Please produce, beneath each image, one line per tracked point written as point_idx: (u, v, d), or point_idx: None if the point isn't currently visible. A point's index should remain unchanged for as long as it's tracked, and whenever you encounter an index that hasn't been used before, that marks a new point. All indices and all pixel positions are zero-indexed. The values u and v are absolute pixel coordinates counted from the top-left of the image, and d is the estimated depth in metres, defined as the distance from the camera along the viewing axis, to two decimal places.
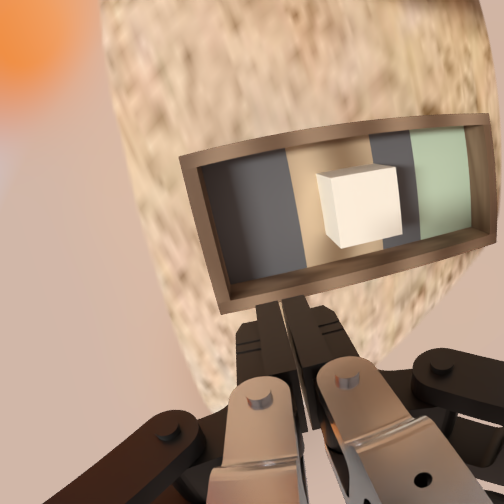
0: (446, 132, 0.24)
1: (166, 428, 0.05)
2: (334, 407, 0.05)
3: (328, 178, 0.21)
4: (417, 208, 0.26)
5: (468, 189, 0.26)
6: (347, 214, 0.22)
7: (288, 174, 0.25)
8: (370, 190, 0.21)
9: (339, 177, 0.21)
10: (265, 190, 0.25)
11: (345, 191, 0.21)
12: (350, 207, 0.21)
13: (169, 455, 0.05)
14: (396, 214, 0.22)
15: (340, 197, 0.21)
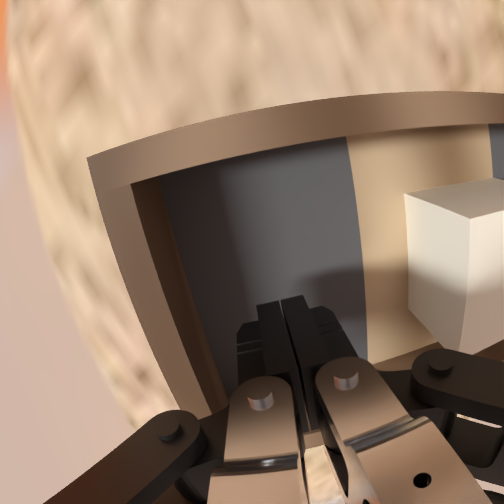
0: None
1: (167, 428, 0.05)
2: (333, 408, 0.05)
3: (459, 216, 0.08)
4: None
5: None
6: (484, 296, 0.08)
7: (351, 194, 0.11)
8: None
9: (485, 217, 0.07)
10: (301, 228, 0.11)
11: (490, 248, 0.08)
12: (491, 281, 0.08)
13: (171, 455, 0.05)
14: None
15: (480, 262, 0.08)
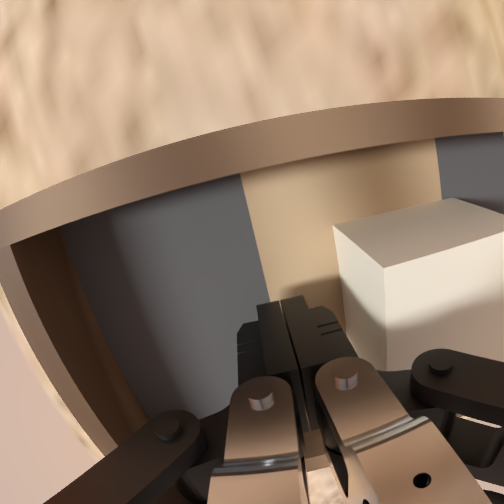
0: None
1: (167, 428, 0.05)
2: (332, 408, 0.05)
3: (374, 262, 0.07)
4: None
5: None
6: (414, 351, 0.07)
7: (249, 233, 0.10)
8: (475, 287, 0.07)
9: (408, 263, 0.07)
10: (196, 271, 0.11)
11: (418, 299, 0.07)
12: (423, 335, 0.07)
13: (171, 455, 0.05)
14: None
15: (403, 316, 0.07)
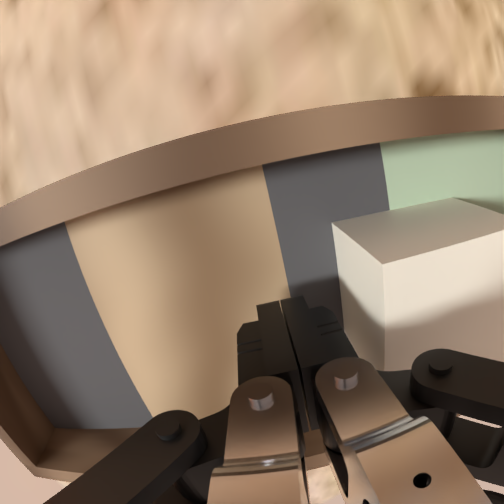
0: (471, 142, 0.10)
1: (167, 428, 0.05)
2: (333, 408, 0.05)
3: (373, 259, 0.07)
4: None
5: None
6: (412, 349, 0.07)
7: (79, 274, 0.11)
8: (473, 286, 0.07)
9: (407, 260, 0.07)
10: (49, 303, 0.11)
11: (417, 296, 0.07)
12: (421, 333, 0.07)
13: (171, 455, 0.05)
14: None
15: (402, 313, 0.07)
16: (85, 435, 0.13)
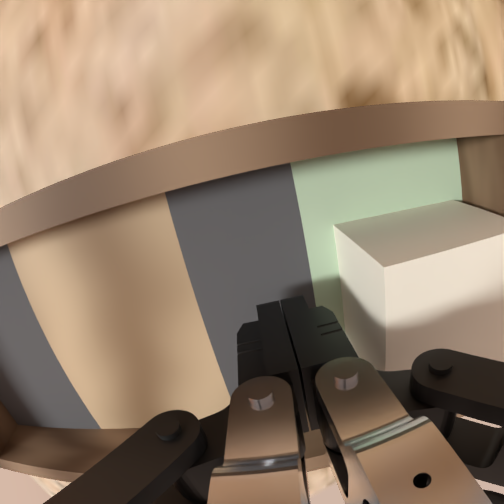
0: (408, 154, 0.10)
1: (167, 428, 0.05)
2: (332, 408, 0.05)
3: (375, 262, 0.07)
4: None
5: None
6: (413, 352, 0.07)
7: (21, 289, 0.11)
8: (474, 289, 0.07)
9: (408, 263, 0.07)
10: (1, 313, 0.11)
11: (418, 299, 0.07)
12: (422, 335, 0.07)
13: (171, 455, 0.05)
14: None
15: (403, 316, 0.07)
16: (41, 432, 0.13)
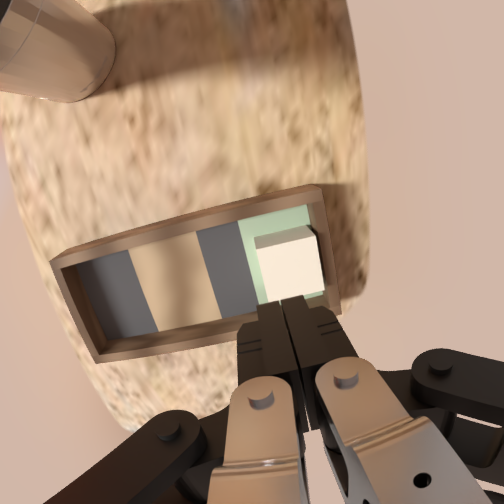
0: (281, 209, 0.30)
1: (167, 428, 0.05)
2: (333, 408, 0.05)
3: None
4: (253, 283, 0.32)
5: None
6: (272, 276, 0.27)
7: (131, 264, 0.31)
8: (292, 257, 0.27)
9: (263, 248, 0.27)
10: (117, 276, 0.31)
11: (269, 259, 0.27)
12: (274, 271, 0.27)
13: (170, 455, 0.05)
14: (318, 274, 0.27)
15: (265, 264, 0.27)
16: (124, 339, 0.33)
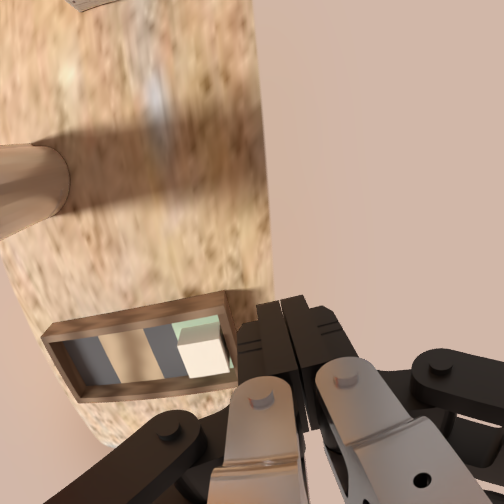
0: None
1: (167, 428, 0.05)
2: (333, 408, 0.05)
3: (177, 344, 0.36)
4: None
5: None
6: (190, 362, 0.36)
7: (98, 339, 0.40)
8: (203, 351, 0.36)
9: (182, 345, 0.36)
10: (89, 346, 0.40)
11: (187, 352, 0.36)
12: (191, 359, 0.36)
13: (170, 455, 0.05)
14: (223, 362, 0.37)
15: (184, 355, 0.36)
16: (98, 387, 0.42)
